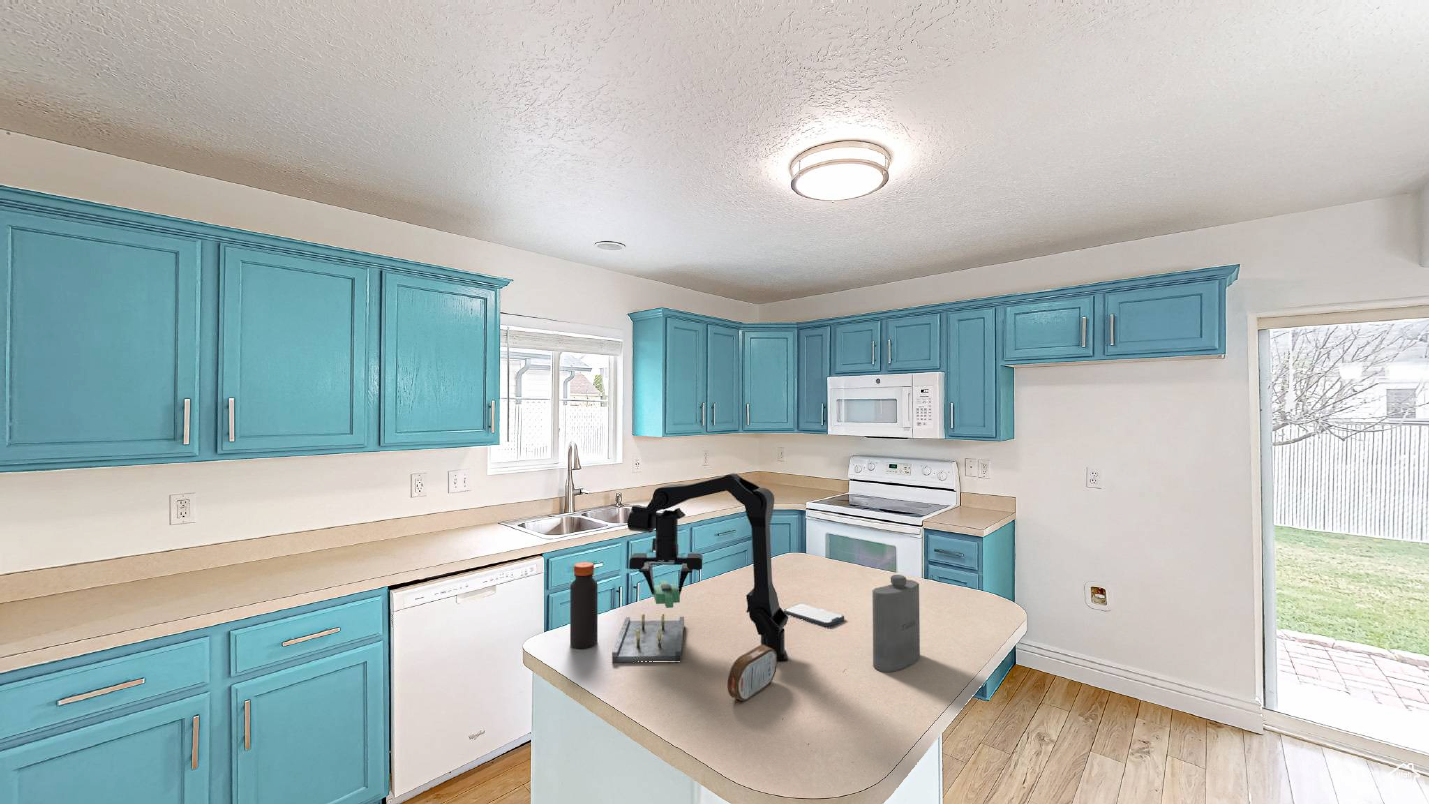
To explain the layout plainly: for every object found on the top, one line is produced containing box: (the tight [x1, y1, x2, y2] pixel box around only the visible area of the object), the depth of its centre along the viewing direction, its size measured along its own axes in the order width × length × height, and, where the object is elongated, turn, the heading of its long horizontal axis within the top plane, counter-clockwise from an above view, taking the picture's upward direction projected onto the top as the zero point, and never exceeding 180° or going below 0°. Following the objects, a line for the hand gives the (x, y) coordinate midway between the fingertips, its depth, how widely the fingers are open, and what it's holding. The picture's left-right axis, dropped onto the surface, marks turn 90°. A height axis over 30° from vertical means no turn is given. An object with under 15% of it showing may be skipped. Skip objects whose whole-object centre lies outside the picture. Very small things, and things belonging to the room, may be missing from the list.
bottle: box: [569, 561, 599, 650], centre depth 140 cm, size 7×7×20 cm
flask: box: [871, 574, 921, 673], centre depth 129 cm, size 15×6×20 cm, turn 129°
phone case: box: [783, 603, 845, 629], centre depth 158 cm, size 9×2×16 cm
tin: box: [726, 644, 778, 702], centre depth 116 cm, size 15×3×8 cm, turn 141°
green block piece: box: [653, 579, 681, 609], centre depth 144 cm, size 14×6×3 cm, turn 12°
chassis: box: [611, 613, 685, 664], centre depth 140 cm, size 22×16×5 cm
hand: (666, 594), depth 143 cm, fingers closed on green block piece, 6 cm apart
